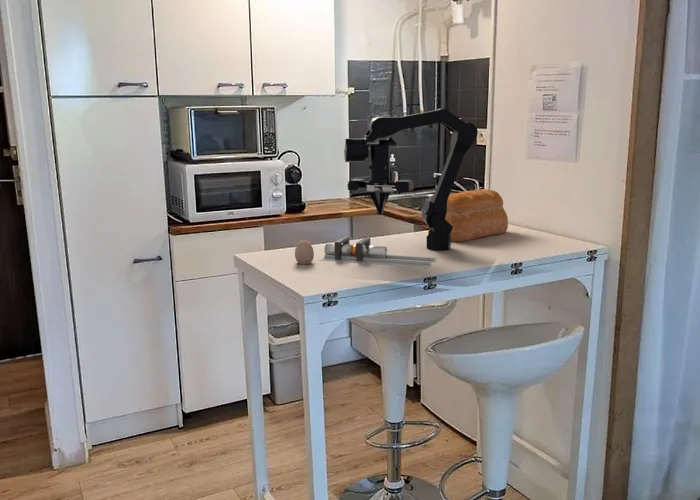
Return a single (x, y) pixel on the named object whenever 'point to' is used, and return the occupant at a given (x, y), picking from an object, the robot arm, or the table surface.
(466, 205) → the bread
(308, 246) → the egg
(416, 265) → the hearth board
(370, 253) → the tube
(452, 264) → the table surface
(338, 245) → the collar
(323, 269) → the table surface
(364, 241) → the dark gray arch
